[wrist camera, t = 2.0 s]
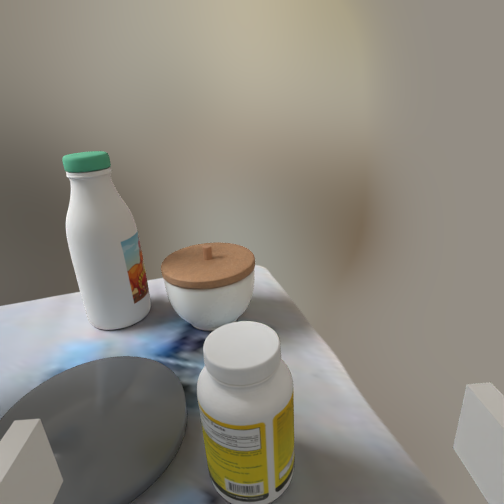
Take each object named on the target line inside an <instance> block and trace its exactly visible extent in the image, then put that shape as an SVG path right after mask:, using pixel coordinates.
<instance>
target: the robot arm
mask: <svg viewBox="0 0 504 504" xmlns="http://www.w3.org/2000/svg"><path fill="white" fill-rule="evenodd" d="M453 449H454V450H455V452H456V453H457V455H458V457H459V458H460V460H461V461H462V463H463V464H464V466H465V467H466V469H467V471H468V472H469V474H470V475H471V477H472V478H473V480H474V482H475V483H476V485H477V486H478V488H479V489H480V491H481V493H482V494H483V496H484V497H485V499H486V500H487V502H488V503H489V504H504V396H503V395H502V394H501V393H500V392H499V391H498V390H497V388H496V387H495V386H494V385H493V384H492V383H491V382H490V383H477V384H467V385H466V390H465V395H464V399H463V404H462V409H461V413H460V418H459V422H458V427H457V432H456V437H455V441H454V446H453ZM62 482H63V478H62V476H61V473H60V470H59V468H58V465H57V462H56V460H55V457H54V454H53V452H52V449H51V446H50V444H49V441H48V438H47V436H46V433H45V430H44V428H43V425H42V422H41V420H40V419H27V420H15V421H14V422H13V423H12V425H11V426H10V428H9V429H8V431H7V432H6V434H5V435H4V436H3V438H2V439H1V441H0V504H53V502H54V500H55V498H56V496H57V494H58V491H59V489H60V487H61V485H62Z"/></svg>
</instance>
